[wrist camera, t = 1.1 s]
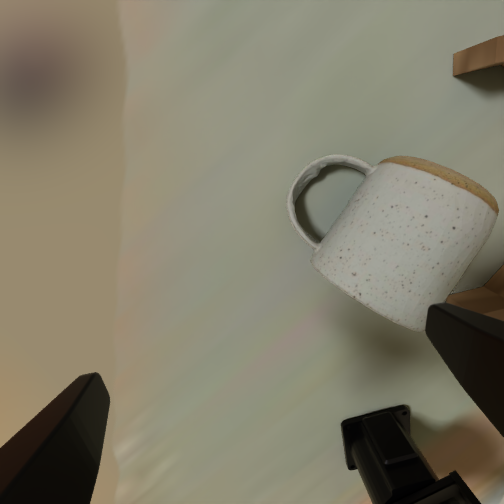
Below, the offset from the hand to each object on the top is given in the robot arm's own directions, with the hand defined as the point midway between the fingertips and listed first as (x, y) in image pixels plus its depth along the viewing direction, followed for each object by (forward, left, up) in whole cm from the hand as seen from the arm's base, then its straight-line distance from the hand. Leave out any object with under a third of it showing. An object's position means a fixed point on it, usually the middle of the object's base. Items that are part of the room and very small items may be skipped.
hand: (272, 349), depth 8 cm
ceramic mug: (-2, -8, -13) cm, 16 cm away
